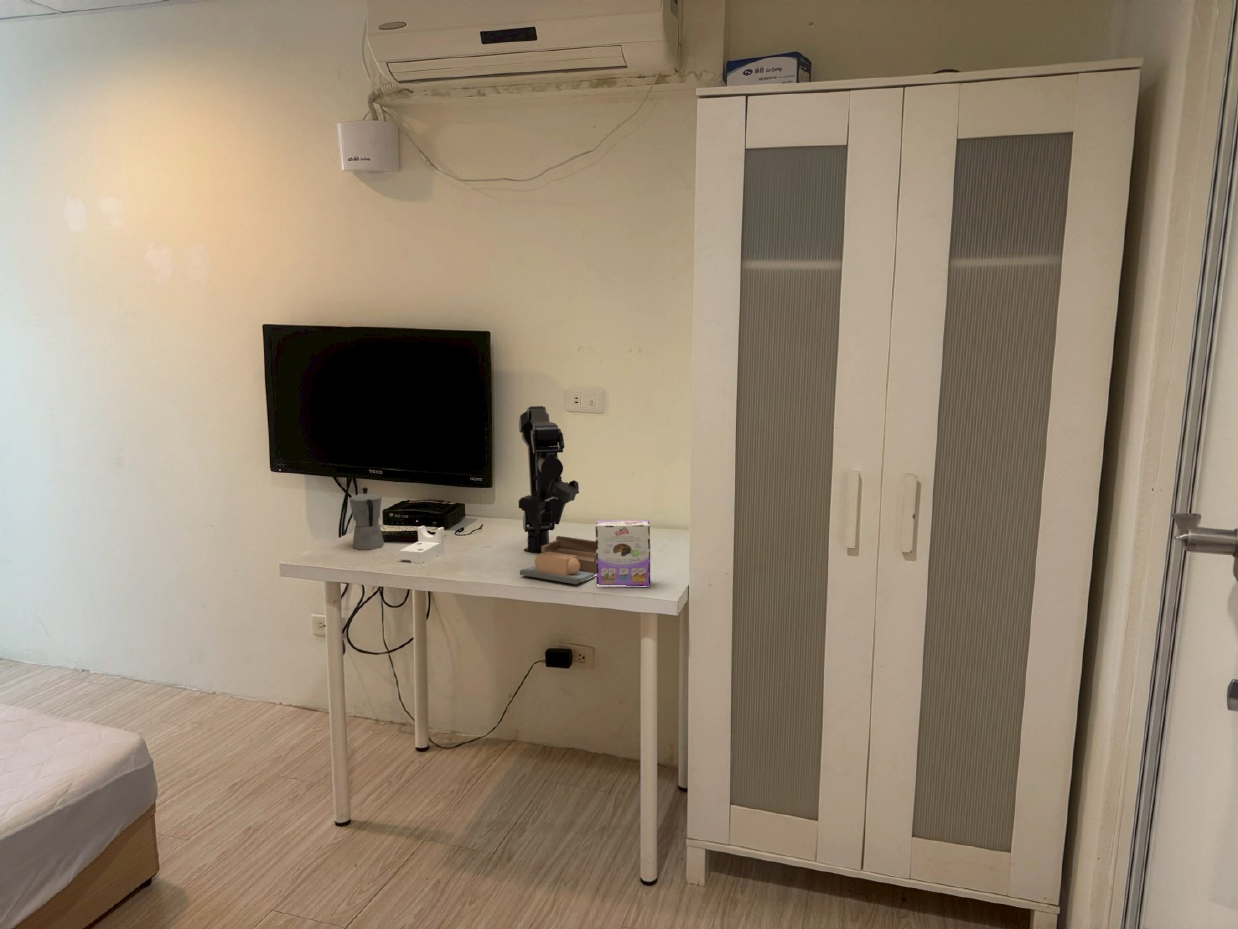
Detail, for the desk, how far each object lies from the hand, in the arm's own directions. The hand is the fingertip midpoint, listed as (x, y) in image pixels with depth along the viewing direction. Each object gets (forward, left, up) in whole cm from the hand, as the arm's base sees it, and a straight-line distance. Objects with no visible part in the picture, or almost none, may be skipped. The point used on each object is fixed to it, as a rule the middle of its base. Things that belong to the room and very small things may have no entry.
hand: (547, 528), depth 237 cm
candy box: (+2, +25, -12) cm, 27 cm away
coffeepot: (+6, -60, -12) cm, 62 cm away
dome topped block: (+6, +6, -10) cm, 13 cm away
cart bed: (-5, +7, -11) cm, 14 cm away
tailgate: (+1, +7, -11) cm, 13 cm away
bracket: (+6, -39, -12) cm, 41 cm away
